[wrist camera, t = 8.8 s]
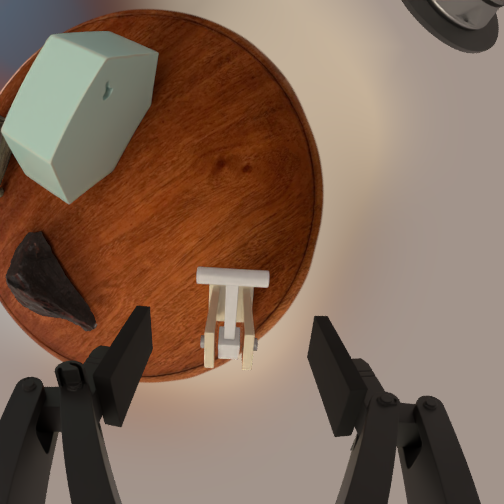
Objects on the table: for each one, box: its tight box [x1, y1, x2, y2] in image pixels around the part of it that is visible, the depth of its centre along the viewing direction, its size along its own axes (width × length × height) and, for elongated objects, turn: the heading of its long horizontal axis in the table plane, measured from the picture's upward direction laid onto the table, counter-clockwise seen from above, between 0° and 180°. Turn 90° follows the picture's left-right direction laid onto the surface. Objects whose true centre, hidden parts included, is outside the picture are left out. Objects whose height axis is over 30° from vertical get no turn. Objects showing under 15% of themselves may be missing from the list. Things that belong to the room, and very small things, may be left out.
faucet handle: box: [196, 267, 269, 359], centre depth 31 cm, size 12×6×2 cm, turn 176°
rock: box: [6, 231, 97, 331], centre depth 39 cm, size 7×18×9 cm, turn 31°
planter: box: [1, 31, 159, 204], centre depth 29 cm, size 17×8×21 cm
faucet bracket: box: [201, 284, 258, 370], centre depth 38 cm, size 6×6×14 cm
